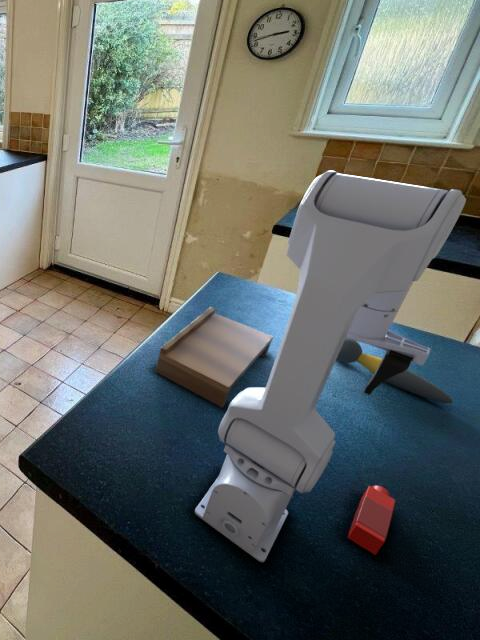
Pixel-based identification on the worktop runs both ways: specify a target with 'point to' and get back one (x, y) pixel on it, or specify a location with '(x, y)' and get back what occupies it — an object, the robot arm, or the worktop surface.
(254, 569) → the worktop surface
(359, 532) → the red rectangular prism
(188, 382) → the shelf
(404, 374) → the paintbrush
